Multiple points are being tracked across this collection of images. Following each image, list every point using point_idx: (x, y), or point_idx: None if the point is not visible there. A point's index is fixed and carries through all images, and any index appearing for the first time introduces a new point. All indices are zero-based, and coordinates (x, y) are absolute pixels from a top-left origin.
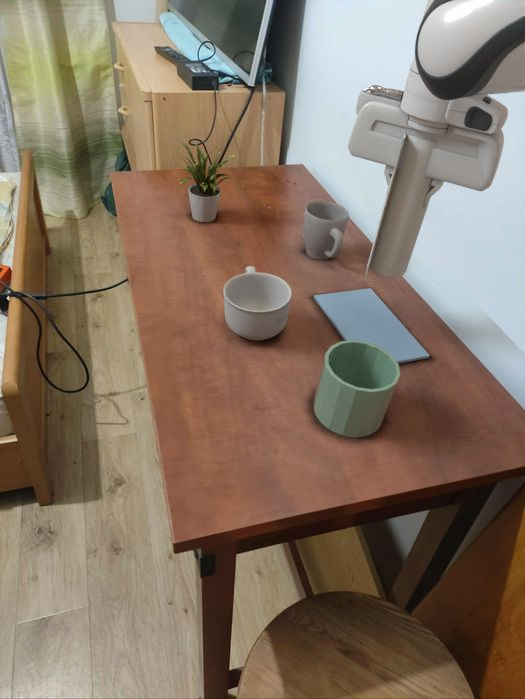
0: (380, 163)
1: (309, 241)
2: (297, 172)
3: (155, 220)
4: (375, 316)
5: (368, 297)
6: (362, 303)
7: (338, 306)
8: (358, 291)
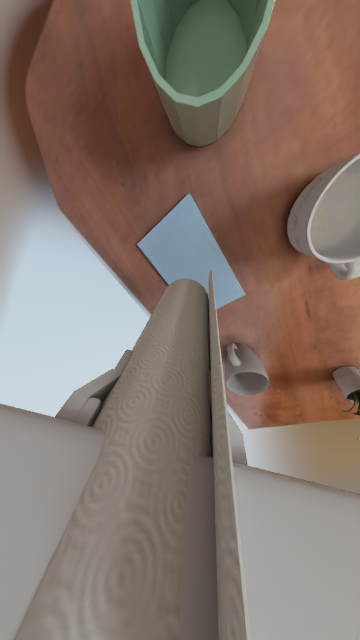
0: (272, 472)
1: (254, 354)
2: (253, 423)
3: None
4: None
5: None
6: None
7: (222, 285)
8: None
